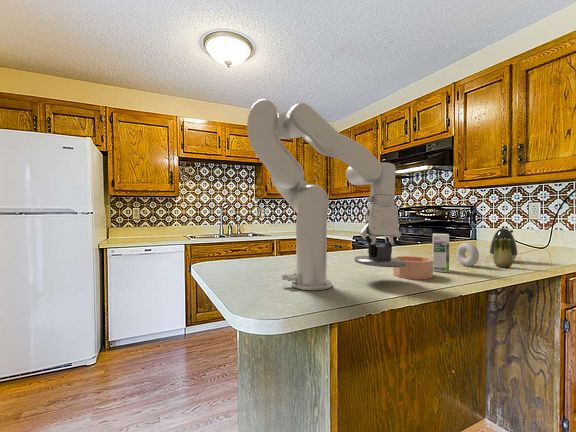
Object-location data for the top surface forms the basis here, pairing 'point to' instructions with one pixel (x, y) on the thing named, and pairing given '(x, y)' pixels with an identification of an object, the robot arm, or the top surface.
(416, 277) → the bowl
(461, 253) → the donut
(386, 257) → the lid
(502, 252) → the fennel bulb
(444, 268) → the syrup box
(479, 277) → the top surface
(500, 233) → the dark glossy dome
